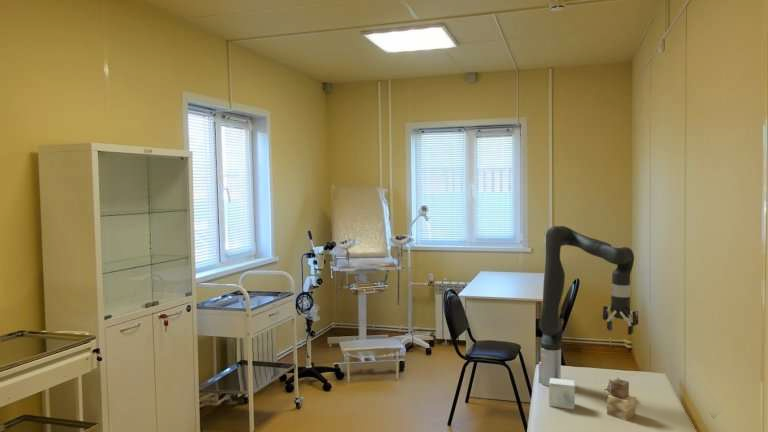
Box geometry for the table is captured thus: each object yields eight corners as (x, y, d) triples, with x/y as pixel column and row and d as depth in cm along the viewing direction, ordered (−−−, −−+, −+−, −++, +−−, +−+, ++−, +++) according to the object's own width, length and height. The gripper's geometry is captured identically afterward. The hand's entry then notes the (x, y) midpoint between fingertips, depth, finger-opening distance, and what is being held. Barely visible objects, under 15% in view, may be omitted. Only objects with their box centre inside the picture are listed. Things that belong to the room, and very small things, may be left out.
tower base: (606, 415, 228) (607, 405, 228) (615, 409, 234) (615, 400, 233) (626, 421, 222) (626, 411, 222) (634, 415, 228) (635, 405, 227)
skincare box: (548, 406, 237) (548, 382, 236) (549, 400, 243) (549, 377, 242) (574, 409, 233) (574, 385, 233) (574, 403, 239) (575, 380, 239)
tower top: (607, 405, 228) (607, 396, 228) (616, 400, 233) (616, 391, 233) (626, 411, 222) (626, 401, 222) (635, 405, 227) (635, 396, 227)
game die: (620, 406, 245) (630, 394, 238) (601, 398, 246) (611, 386, 240) (620, 390, 251) (631, 378, 245) (602, 383, 253) (612, 370, 247)
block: (611, 396, 228) (611, 381, 227) (616, 392, 231) (616, 378, 231) (622, 399, 224) (623, 385, 224) (628, 396, 227) (628, 381, 227)
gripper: (600, 293, 236) (599, 330, 237) (633, 298, 225) (632, 337, 227) (608, 290, 241) (607, 327, 242) (641, 295, 230) (640, 334, 232)
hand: (619, 332), depth 234 cm, fingers open, 8 cm apart
